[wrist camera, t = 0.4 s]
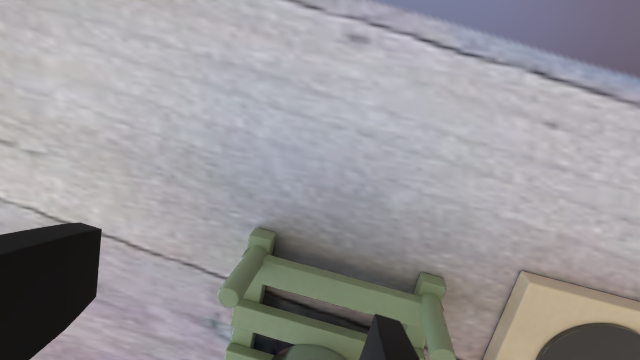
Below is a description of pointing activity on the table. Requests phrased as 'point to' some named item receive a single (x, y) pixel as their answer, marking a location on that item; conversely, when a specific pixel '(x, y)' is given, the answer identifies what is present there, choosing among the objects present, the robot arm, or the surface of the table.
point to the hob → (565, 323)
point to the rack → (264, 269)
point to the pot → (307, 353)
